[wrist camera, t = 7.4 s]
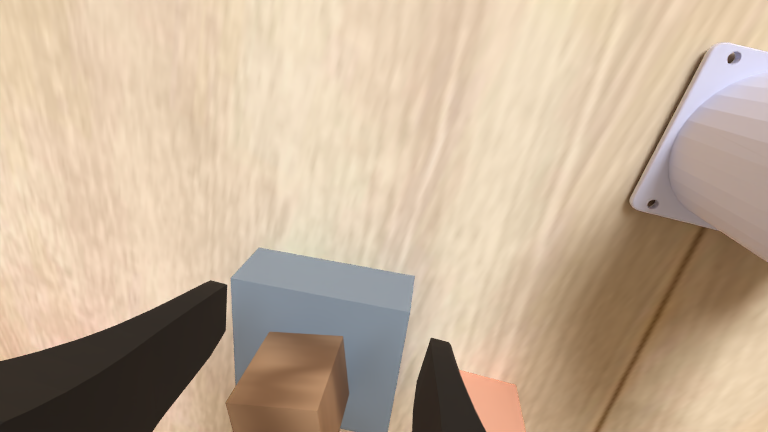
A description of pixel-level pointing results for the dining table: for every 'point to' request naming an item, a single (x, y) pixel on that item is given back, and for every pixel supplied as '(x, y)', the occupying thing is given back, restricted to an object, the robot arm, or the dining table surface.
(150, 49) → the dining table surface
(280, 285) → the base block
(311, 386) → the walnut block
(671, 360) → the dining table surface
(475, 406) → the terracotta block
